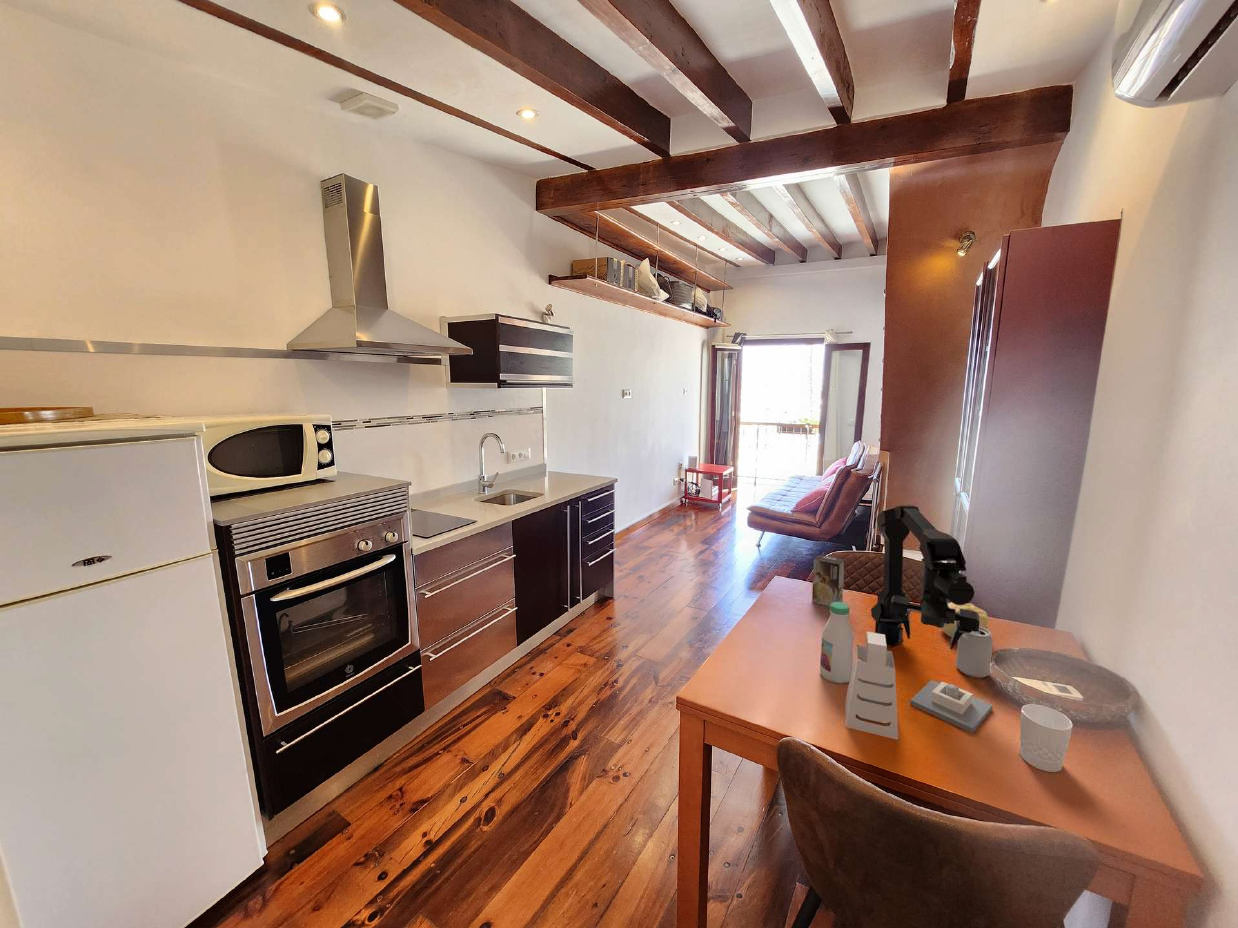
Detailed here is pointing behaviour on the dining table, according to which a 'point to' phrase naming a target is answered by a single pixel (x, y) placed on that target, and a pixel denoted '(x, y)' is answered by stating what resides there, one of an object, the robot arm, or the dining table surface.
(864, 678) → the grater
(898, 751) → the dining table surface
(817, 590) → the coffee box
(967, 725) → the post stand
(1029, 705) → the white cup
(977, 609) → the sculpture
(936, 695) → the white square frame
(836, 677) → the milk bottle
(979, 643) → the can
